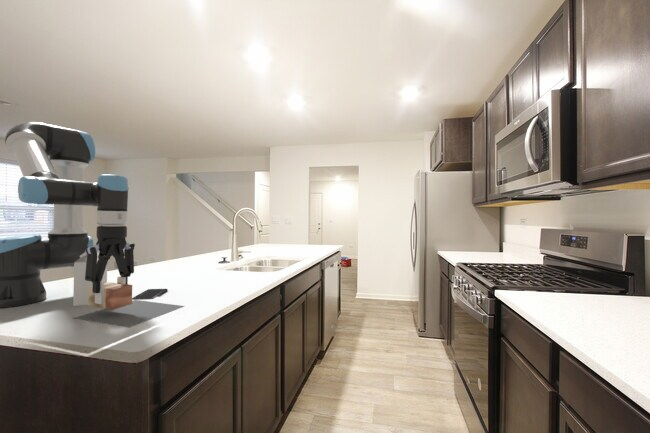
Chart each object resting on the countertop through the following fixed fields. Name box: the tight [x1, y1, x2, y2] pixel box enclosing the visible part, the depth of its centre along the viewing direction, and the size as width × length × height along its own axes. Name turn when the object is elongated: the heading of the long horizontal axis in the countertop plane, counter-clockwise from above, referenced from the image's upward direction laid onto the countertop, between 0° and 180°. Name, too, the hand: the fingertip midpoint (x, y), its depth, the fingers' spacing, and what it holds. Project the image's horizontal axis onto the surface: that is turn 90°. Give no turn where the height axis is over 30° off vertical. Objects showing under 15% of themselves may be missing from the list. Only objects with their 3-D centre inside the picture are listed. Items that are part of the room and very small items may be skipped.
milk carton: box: [72, 251, 108, 307], centre depth 101 cm, size 7×7×19 cm
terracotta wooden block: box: [87, 281, 133, 310], centre depth 89 cm, size 10×6×6 cm, turn 73°
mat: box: [73, 299, 185, 328], centre depth 91 cm, size 22×20×1 cm
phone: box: [132, 288, 169, 301], centre depth 112 cm, size 8×1×15 cm
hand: (110, 300), depth 89 cm, fingers closed on terracotta wooden block, 6 cm apart
